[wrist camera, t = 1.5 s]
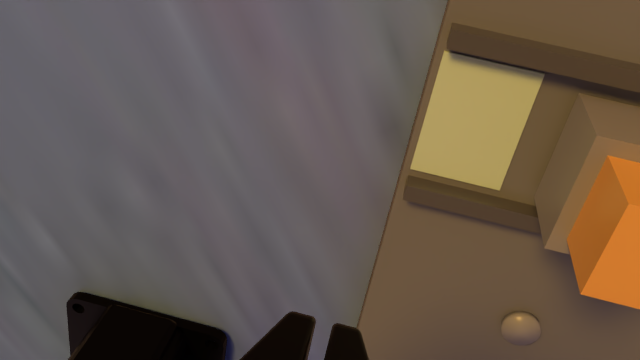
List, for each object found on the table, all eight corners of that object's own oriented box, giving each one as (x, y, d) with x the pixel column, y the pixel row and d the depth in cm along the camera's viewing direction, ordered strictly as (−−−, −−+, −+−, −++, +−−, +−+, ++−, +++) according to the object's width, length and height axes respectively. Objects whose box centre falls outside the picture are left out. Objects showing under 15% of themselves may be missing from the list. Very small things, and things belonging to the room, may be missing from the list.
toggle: (627, 219, 17) (675, 334, 13) (533, 196, 17) (554, 303, 13) (683, 116, 15) (756, 215, 12) (579, 92, 15) (616, 181, 12)
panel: (616, 417, 22) (626, 456, 21) (351, 346, 23) (344, 379, 22) (1054, -230, 12) (1131, -236, 10) (538, -323, 13) (547, -338, 11)
